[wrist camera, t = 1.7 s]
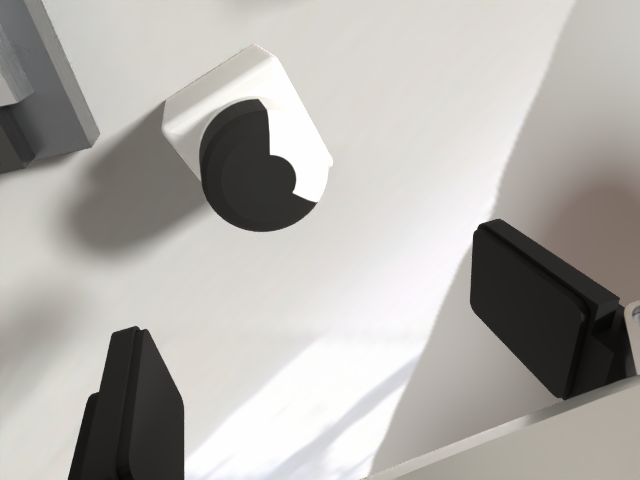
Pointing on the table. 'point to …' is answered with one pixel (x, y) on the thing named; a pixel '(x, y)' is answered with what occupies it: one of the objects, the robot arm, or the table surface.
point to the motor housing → (37, 90)
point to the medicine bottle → (249, 142)
